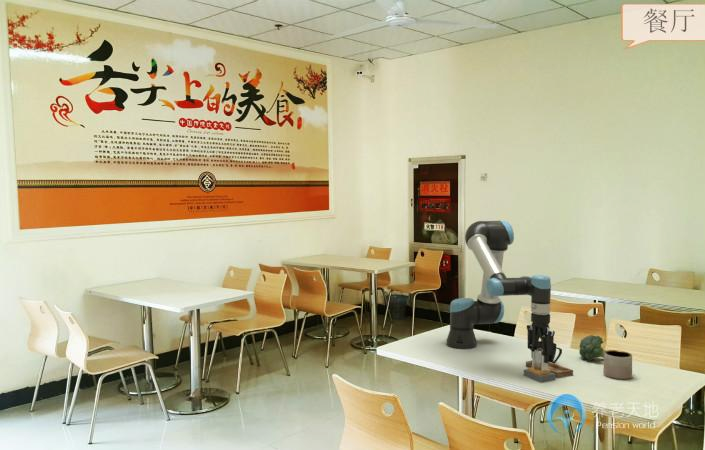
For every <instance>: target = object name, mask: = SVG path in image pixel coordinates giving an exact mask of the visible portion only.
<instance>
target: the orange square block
mask: <svg viewBox="0 0 705 450" xmlns="http://www.w3.org/2000/svg"><path fill="white" fill-rule="evenodd" d="M528 369H529V371H530V372H533V373H535V374H538V375H543V374H548V373H550V370H549V369H548V370H545V371H539V370H535V369H534V368H533V367H531V368H529V367H528Z"/></svg>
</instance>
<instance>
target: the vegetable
mask: <svg viewBox="0 0 705 450" xmlns="http://www.w3.org/2000/svg"><path fill="white" fill-rule="evenodd" d="M602 344H604V340H603V338H602V337H601V336H599V335H593V334H590V335H587V336H585V337H583V338H582V339H581V340H580V344H579V352H578V354H579V355H580V356H581V357H582V358H584V359H587V360H588V361H589V362H590V361H592V360H593V359H597V358H603V359H604V352H605V351H608V350H607V349H606V350H605V349H604V348H603V347H602Z"/></svg>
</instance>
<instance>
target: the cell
mask: <svg viewBox="0 0 705 450" xmlns="http://www.w3.org/2000/svg"><path fill="white" fill-rule="evenodd" d="M542 354H543V349H542V348H538V349H535V350H534V369H535V370H539V371H542V370H541V363H542Z"/></svg>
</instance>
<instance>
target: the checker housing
mask: <svg viewBox="0 0 705 450" xmlns="http://www.w3.org/2000/svg"><path fill="white" fill-rule="evenodd" d="M523 377H526V378H528V379H531V380H534V381H536V382H539V383H541V384H543V383H547V382H551V381H556V380H557V378H556V374H555V373H552V372H550V373H548V374H543V375H538V374H535V373H533V372H530V371H529V368H526V369H523Z"/></svg>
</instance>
